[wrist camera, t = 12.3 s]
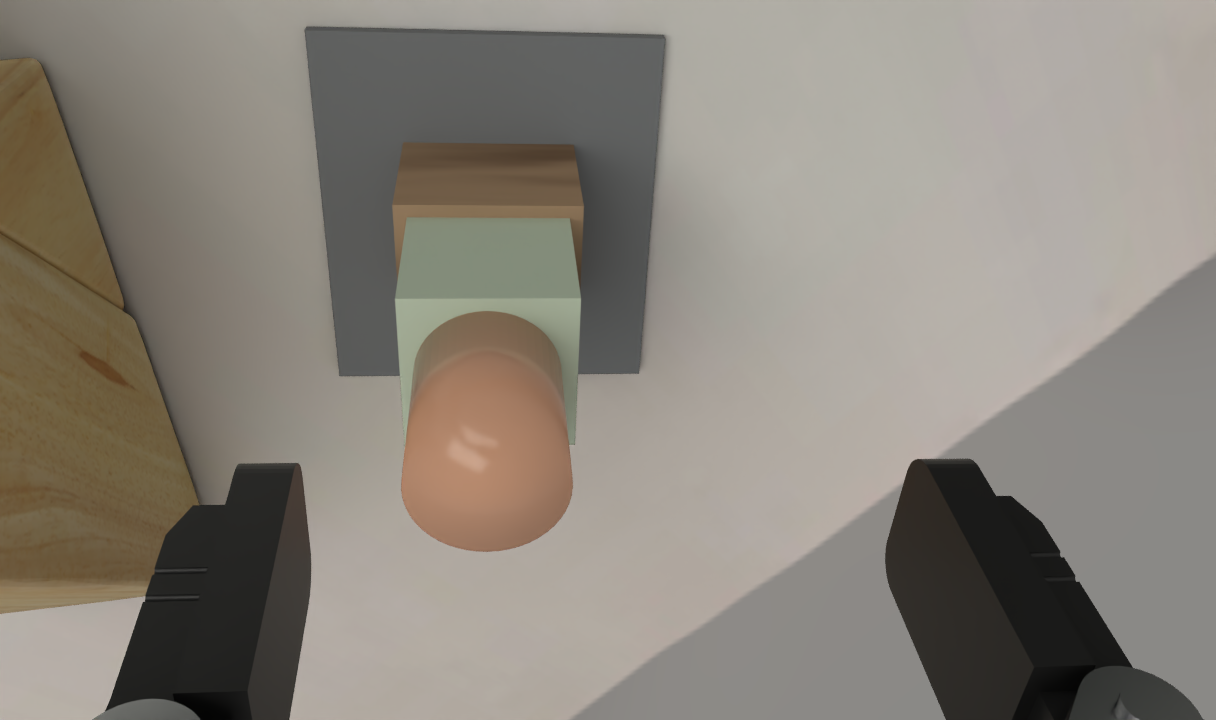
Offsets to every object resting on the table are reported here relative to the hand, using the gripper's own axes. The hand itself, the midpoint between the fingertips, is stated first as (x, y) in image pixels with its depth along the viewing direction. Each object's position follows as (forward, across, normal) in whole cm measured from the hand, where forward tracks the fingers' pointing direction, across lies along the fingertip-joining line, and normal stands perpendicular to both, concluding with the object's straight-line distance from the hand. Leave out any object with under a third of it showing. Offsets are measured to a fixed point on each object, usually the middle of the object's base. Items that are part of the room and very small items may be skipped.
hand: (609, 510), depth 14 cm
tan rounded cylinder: (+20, +1, +12) cm, 23 cm away
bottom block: (+32, +1, +12) cm, 34 cm away
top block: (+26, +1, +12) cm, 28 cm away
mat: (+32, +1, +12) cm, 35 cm away
